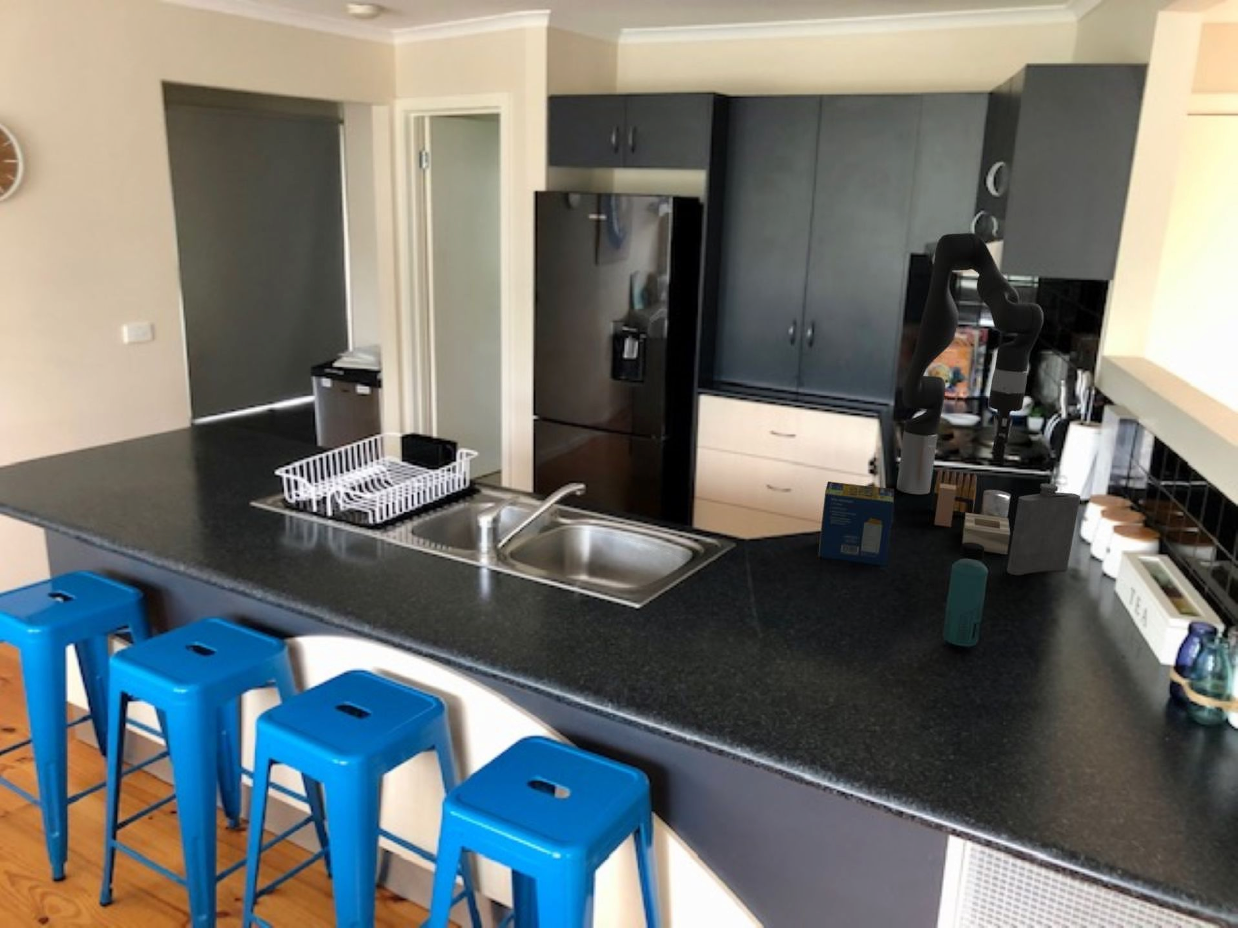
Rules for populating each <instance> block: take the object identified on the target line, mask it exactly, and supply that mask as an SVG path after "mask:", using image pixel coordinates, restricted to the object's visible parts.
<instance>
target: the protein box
mask: <svg viewBox="0 0 1238 928" xmlns="http://www.w3.org/2000/svg"><path fill="white" fill-rule="evenodd" d="M894 497H895V489H894V488H888V487H881V486H880V487H879V486H871V485H870V486H869V485H862V484H855V483H853V484H852V483H843V482H835V481H827V483H826V487H825V491H824V501H823V508H822V518H821V526H820V535H819V542H818V543H819V544H818V545H819V547H818V558H822V559H823V558H825V559H830V560H831V559H832V560H839V561H844V560H845V561H844V562H852V561H854V562H853V563H859V562H861V564H866V563H868V564H869V565H874V564H875V565H874V566H882V567H886V566H887V560H888V552H889V546H890V545H889V544H890V536H891V530H892V522H893V513H894V506H895V505H894V503H895V502H894V501H895V500H894V499H895V498H894Z"/></svg>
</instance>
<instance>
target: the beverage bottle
mask: <svg viewBox="0 0 1238 928" xmlns="http://www.w3.org/2000/svg"><path fill="white" fill-rule="evenodd" d="M959 555H960V556H961V557H963V558H960V559H958V560H957V561H955V562H953V564H952V565H951V573H950V581H949V589H948V593H947V598H946V605H945V611H944V618H943V621H944V622H943V625H942V635H943V638H944V640H946V642H948V643H950V644H953V645H956V646H960V647H961V646H962V647H973V646H976V645H977V643H978V641H979V639H980V634H981V627H982V622H983V621H982V620H983V614H984V608H985V607H984V602H985V598H986V590H987V589H986V587H987V580H988V575H989V570H988V567H987V566H986V565H985V564H984V563H983V562H981V561H979V560H983V559H985V551H984V546H982V545H980V544H978V543H973V542H965V543H963V542H962V544H961V547H960V551H959Z"/></svg>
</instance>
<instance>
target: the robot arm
mask: <svg viewBox="0 0 1238 928" xmlns="http://www.w3.org/2000/svg"><path fill="white" fill-rule="evenodd" d="M935 247H936V248H935V252H934V257H933V265H932V271H931V277H930V278H931V279H930V284H929V289H928V294H927V299H926V302H925V307H924V311H923V314H922V317H921V321H920V325H919V330H918V335H917V339H916V344H915V349H914V352H913V356H912V360H911V363H910V366H909V369H908V372H907V375H906V378H905V381H904V385H903V388H902V396H901V397H902V403H903V406H905V407H906V408H909V409H920V410H921V409H922V410H923V409H924V410H925V411H924V412H922V414H920V415H918V416H915V417H911V418H909V419H907V420H906V421H905V422H904V426H903V433H902V434H903V435H902V442H901V443H902V444H901V450H900V459H899V465H898V466H899V467H898V475H897V481H896V482H897V483H896V490H898V491H900V492H903V493H906V494H911V495H927V494H929V493H930V492H931V485H932V479H933V472H934V464H935V457H936V449H937V441H938V433H939V427H940V423H941V418H942V411H943V407H944V403H945V396H946V382H945V380H944V378H943V377H941V376H936V375H935V376H933V375H925V373H926V371H927V369H928V368H929V366H930V365H931V363H933V362H934V361H935V360H936V359H937V358H938V357H939V356H941V354H942V353H944V352H945V350H947V349H948V347H949V346H950V345H951V344H952V342H953V341H954V338H955V334H956V333H957V328H958V324H959V320H960V319H959V317H960V316H959V311H958V308H957V305H956V303H955V300H954V299H953V296H952V294H951V293H952V292H951V289H950V280H951V275H952V273H953V272H958V271H959V272H960V271H971V270H973V271H974V272H975V273H977V274H978V276H977V277H978V278H977V281H976V290H977V291H976V292H977V294H978V296H979V297H980V299H981V300H982V301H983V303H984V304H985V305H986V306H987V308H988V309H989V311H990V314H991V318H992V322H993V324H994V327H995V328H996V330H997V331H999V332H1001V333H1003V334H1012V335H1013V334H1016V336H1015V338H1014V339H1013V340H1012V341H1009V342H1006V343H1005V342H1004V343H1002V344H1000V345H999V346H998V347H997V351H996V359H995V365H994V371H993V374H992V377H991V383H990V384H991V385H990V390H989V395H988V396H989V397H988V404H987V405H988V407H989V408H991V409H993V410H996V414H994V417H993V435H994V436H993V437H994V438H993V445H992V451H993V456H992V458H993V460H995V461H1003V460H1004V456H1005V450H1006V446H1007V445H1008V441H1009V440H1008V438H1009V437H1010V434H1011V427H1012V425H1013V420H1014V418H1013V415H1011V412H1020V411H1022V410H1023V405H1024V400H1025V399H1024V398H1025V395H1026V394H1025V392H1026V387H1027V381H1028V380H1027V379H1028V377H1027V373H1028V368H1029V360H1030V354H1031V351H1032V350H1033V348H1034V346H1035V344H1036V342H1037V339H1038V337H1039V334H1040V332H1041V331H1042V328H1043V325H1044V319H1045V318H1044V312H1043V310H1042V307H1041V306H1040V305H1039V304H1038V303H1034V302H1020V297H1019V293H1018V291H1017V290H1016V289H1015V287H1013V285H1012V284H1011V283H1010V282H1009V280H1007V278H1006V277H1005V276H1004V275H1003V274H1002V272H1001V271H1000V269H999V267H998V264H997V263H996V260H995V259H994V257H993V255H992V253H991V251H990V249H989V247H988V245H987V243H986V242H985V241H984V239H983V238H982V237H981V236H980V235H979V234H977V233H972V232H970V233H969V232H968V233H964V232H963V233H961V232H960V233H948V234H947V233H946V234H944V235H942V236H941V237H940V238H939V239H938V242H937V244H936V246H935Z"/></svg>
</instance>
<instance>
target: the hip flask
mask: <svg viewBox="0 0 1238 928" xmlns="http://www.w3.org/2000/svg"><path fill="white" fill-rule="evenodd" d="M1039 487H1040V493H1037V494H1028V495H1027V494H1026V495H1022V496H1021V495H1020V496H1019V497H1018V500H1017V501H1018V502H1017V509H1016V513H1015V521H1014V524H1013V525H1014V527H1013V532H1012V538H1011V545H1010V551H1009V557H1008V563H1007V569H1006V572H1007V573H1008V574H1010V575H1014V576H1022V575H1025V574H1032V573H1041V572H1053V571H1056V572H1057V571H1061V572H1062V571H1067V570H1068V566H1069V562H1070V557H1071V552H1072V551H1071V550H1072V545H1073V539H1074V533H1075V529H1076V523H1077V518H1078V512H1079V511H1078V510H1079V506H1080V501H1081V495H1079V494H1076V493H1070V492H1069V493H1068V492H1060V491H1059V492H1058V490H1059V487H1058V486H1057V485H1055V484H1052V483H1041V484H1040V486H1039Z"/></svg>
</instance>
